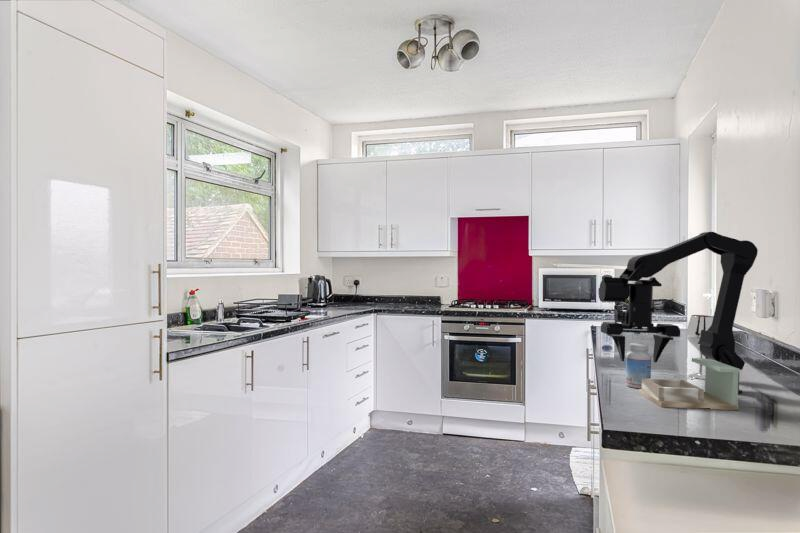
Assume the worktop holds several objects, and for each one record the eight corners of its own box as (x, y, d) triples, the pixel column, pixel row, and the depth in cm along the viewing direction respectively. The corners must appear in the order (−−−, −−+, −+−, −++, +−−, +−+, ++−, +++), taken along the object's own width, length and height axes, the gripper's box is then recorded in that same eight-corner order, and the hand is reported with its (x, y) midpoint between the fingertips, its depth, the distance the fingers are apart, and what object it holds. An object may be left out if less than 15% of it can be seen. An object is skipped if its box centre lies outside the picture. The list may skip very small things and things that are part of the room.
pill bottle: (653, 390, 138) (654, 346, 138) (628, 388, 139) (629, 345, 139) (647, 384, 144) (648, 343, 144) (623, 383, 145) (624, 342, 145)
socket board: (708, 395, 133) (709, 379, 133) (738, 410, 120) (739, 392, 120) (639, 392, 134) (639, 377, 134) (661, 406, 121) (661, 389, 121)
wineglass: (686, 378, 154) (688, 316, 153) (683, 373, 161) (685, 313, 161) (719, 381, 151) (721, 318, 150) (714, 376, 158) (716, 315, 158)
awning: (708, 395, 133) (709, 358, 133) (738, 410, 120) (739, 369, 120) (690, 395, 133) (691, 358, 133) (718, 409, 120) (719, 368, 120)
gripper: (663, 301, 149) (661, 357, 149) (595, 299, 150) (593, 355, 150) (682, 305, 138) (680, 365, 138) (608, 302, 139) (606, 362, 139)
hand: (638, 361), depth 141 cm, fingers open, 8 cm apart
